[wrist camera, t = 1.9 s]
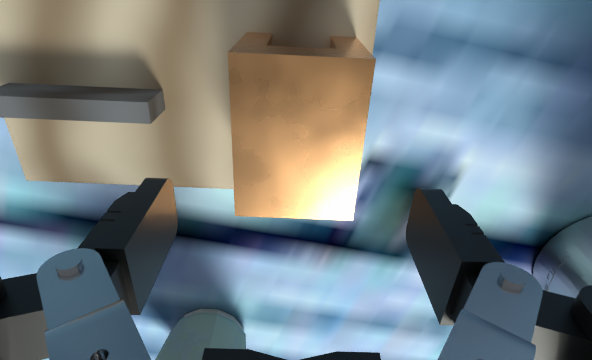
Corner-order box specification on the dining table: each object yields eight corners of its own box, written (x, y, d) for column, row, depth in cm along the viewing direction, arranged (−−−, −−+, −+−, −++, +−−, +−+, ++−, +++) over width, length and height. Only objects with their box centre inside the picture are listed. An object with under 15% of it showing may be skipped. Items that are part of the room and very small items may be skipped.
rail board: (375, -5, 21) (390, 0, 17) (350, 183, 26) (358, 214, 23) (-24, -24, 20) (-91, -23, 17) (40, 170, 26) (0, 200, 23)
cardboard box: (246, 31, 20) (227, 52, 15) (356, 36, 20) (375, 59, 15) (249, 163, 24) (235, 215, 19) (341, 167, 24) (352, 220, 19)
